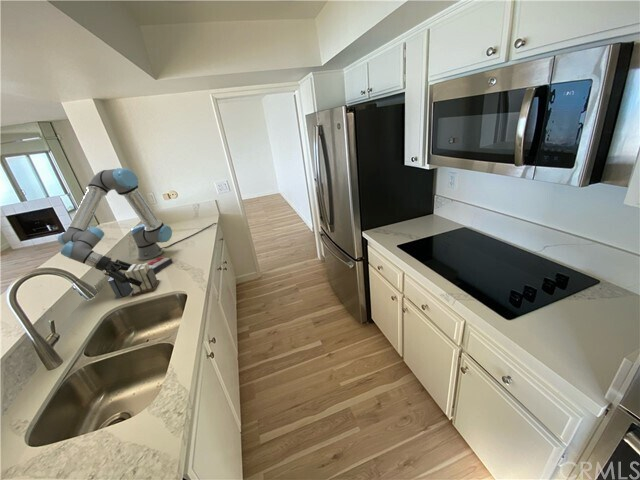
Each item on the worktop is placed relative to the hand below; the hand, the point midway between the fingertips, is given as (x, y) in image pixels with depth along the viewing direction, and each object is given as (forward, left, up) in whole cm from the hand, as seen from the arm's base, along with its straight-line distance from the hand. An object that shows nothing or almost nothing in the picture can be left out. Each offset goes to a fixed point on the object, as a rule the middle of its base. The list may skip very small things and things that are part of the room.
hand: (143, 280), depth 147 cm
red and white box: (-16, -21, -6) cm, 27 cm away
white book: (+2, -2, -4) cm, 5 cm away
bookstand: (0, 0, -5) cm, 5 cm away
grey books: (+9, -8, -6) cm, 13 cm away
